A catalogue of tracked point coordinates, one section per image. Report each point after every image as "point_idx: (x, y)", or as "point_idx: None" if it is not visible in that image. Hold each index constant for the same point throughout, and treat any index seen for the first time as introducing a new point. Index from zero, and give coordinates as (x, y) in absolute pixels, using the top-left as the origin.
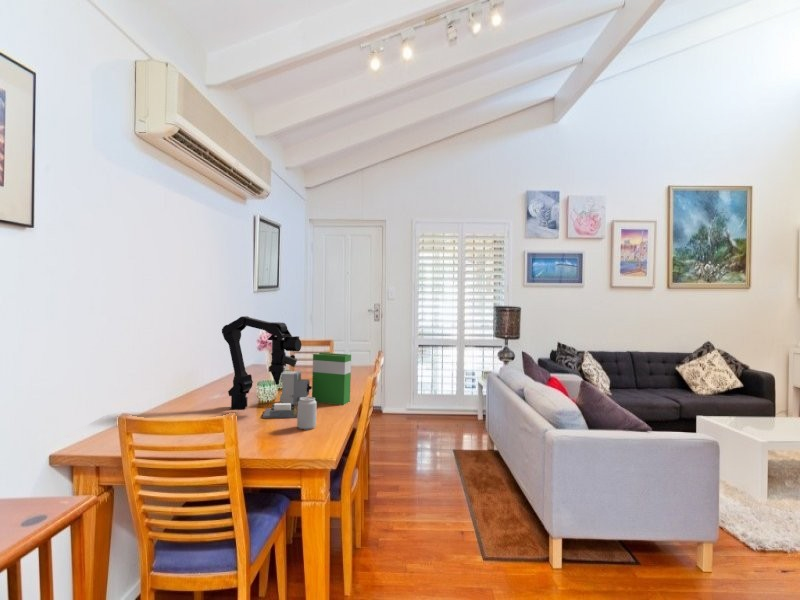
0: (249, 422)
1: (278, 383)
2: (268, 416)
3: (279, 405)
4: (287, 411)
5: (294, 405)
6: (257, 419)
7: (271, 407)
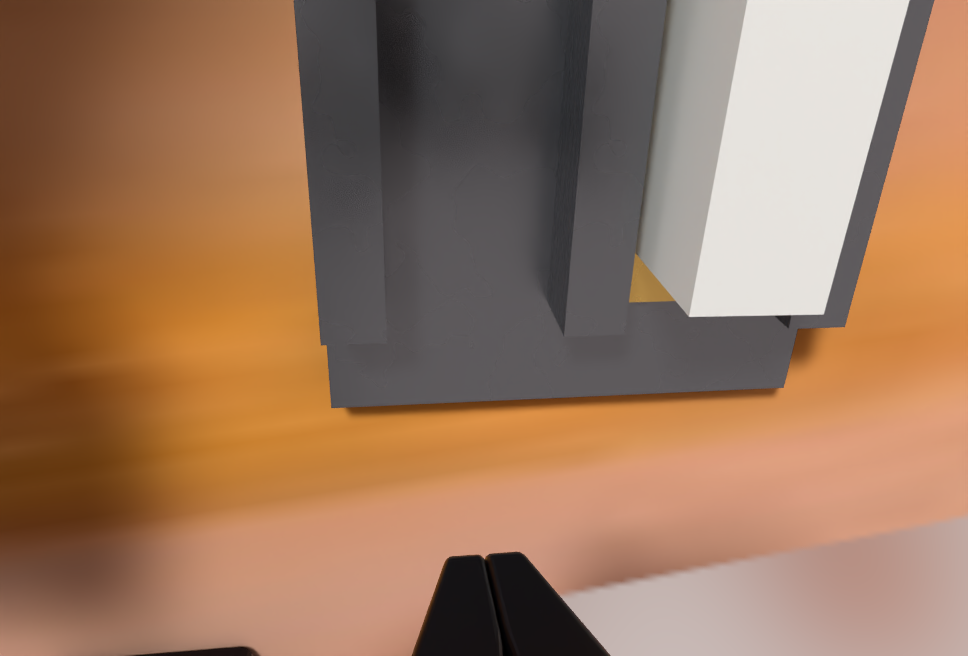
0: (903, 476)
1: (545, 585)
2: None
3: (846, 204)
4: (924, 5)
5: None
6: (798, 418)
7: (582, 334)
